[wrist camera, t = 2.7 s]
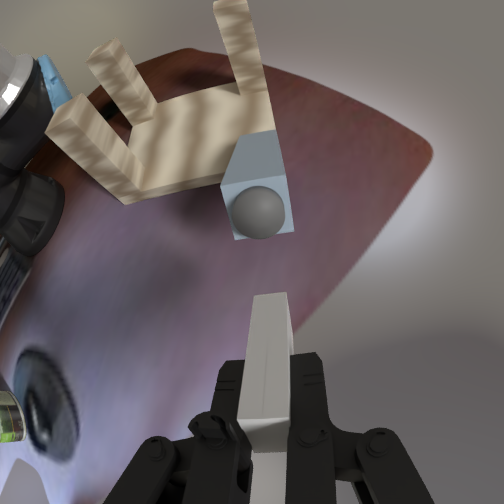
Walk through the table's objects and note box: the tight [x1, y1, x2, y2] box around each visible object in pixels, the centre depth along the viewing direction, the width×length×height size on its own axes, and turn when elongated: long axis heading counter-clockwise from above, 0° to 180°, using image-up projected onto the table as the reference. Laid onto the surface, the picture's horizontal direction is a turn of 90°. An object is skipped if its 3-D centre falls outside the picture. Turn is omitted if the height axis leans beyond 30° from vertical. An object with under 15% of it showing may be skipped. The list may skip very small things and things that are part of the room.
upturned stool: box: [45, 0, 275, 205], centre depth 29 cm, size 22×18×17 cm
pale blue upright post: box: [220, 129, 294, 240], centre depth 23 cm, size 4×4×16 cm
